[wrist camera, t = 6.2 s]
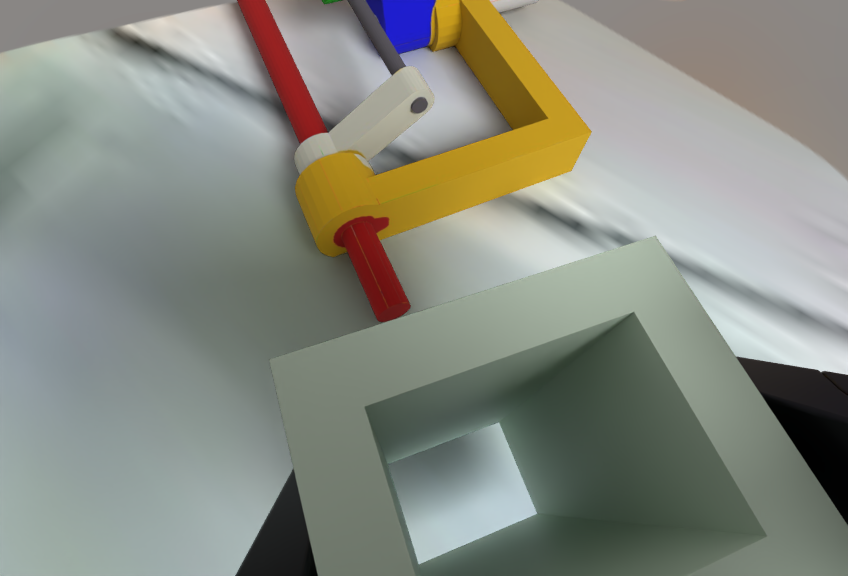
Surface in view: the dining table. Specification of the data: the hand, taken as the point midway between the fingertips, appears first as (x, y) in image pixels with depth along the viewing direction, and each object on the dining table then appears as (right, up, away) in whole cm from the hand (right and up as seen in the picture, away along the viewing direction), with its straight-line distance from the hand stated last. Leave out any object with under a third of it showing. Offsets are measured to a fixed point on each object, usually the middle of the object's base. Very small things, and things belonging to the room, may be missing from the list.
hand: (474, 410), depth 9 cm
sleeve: (0, -4, +5) cm, 7 cm away
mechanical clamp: (-2, +16, +18) cm, 24 cm away
